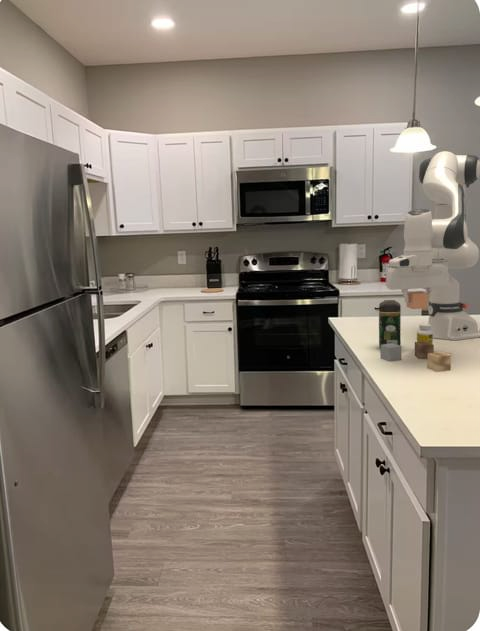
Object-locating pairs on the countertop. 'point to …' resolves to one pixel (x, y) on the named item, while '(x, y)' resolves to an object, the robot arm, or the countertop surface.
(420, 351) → the walnut cube
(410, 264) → the robot arm
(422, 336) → the supplement bottle
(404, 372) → the countertop surface
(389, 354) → the grey cube
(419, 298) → the terracotta cube
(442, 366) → the oak cube
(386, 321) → the coffee jar
